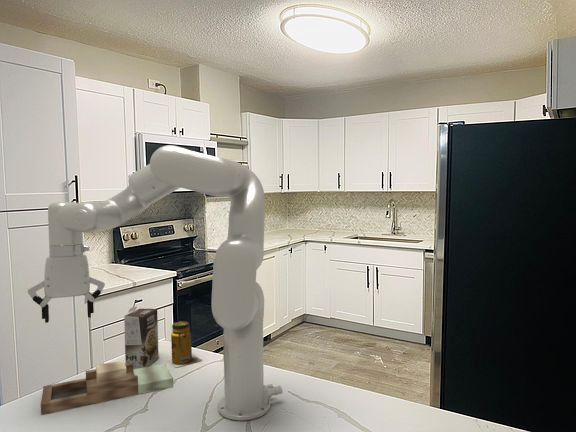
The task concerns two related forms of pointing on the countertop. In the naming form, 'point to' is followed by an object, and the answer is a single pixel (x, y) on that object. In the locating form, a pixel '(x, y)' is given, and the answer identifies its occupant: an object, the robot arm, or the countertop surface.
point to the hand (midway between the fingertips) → (68, 318)
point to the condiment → (182, 345)
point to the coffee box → (141, 338)
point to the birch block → (110, 371)
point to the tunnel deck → (104, 388)
